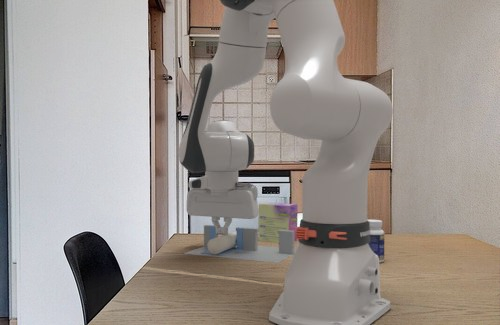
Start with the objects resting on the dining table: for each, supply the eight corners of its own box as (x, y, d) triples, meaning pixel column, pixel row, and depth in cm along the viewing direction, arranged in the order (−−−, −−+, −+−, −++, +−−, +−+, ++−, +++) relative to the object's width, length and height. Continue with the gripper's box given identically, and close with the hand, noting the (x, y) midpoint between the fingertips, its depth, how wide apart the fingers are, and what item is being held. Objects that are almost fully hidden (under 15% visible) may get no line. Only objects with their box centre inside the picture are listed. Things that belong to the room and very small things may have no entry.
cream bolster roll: (214, 257, 115) (224, 246, 114) (204, 246, 116) (213, 235, 115) (235, 249, 126) (243, 239, 125) (225, 238, 127) (233, 228, 126)
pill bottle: (385, 264, 109) (385, 222, 109) (360, 263, 110) (360, 221, 110) (383, 258, 114) (383, 219, 114) (359, 258, 116) (359, 218, 115)
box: (297, 243, 136) (297, 203, 136) (288, 246, 131) (288, 205, 131) (267, 240, 142) (267, 202, 142) (258, 243, 137) (257, 203, 137)
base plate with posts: (277, 266, 107) (277, 237, 107) (183, 256, 118) (183, 230, 118) (302, 252, 123) (302, 227, 123) (217, 244, 134) (217, 222, 134)
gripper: (262, 182, 120) (262, 235, 120) (195, 180, 129) (195, 229, 129) (252, 183, 115) (252, 238, 115) (183, 181, 123) (183, 233, 123)
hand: (221, 234), depth 122 cm, fingers closed
